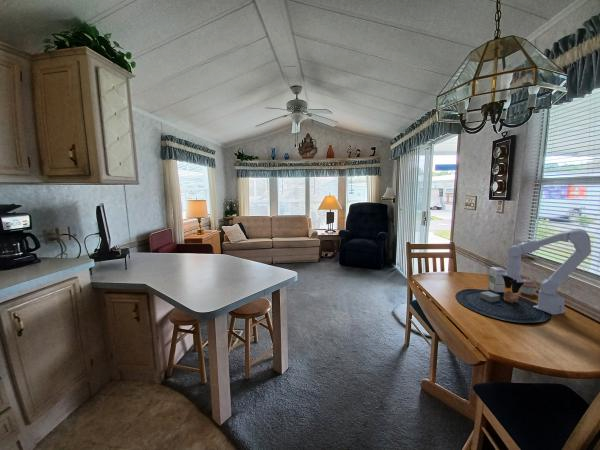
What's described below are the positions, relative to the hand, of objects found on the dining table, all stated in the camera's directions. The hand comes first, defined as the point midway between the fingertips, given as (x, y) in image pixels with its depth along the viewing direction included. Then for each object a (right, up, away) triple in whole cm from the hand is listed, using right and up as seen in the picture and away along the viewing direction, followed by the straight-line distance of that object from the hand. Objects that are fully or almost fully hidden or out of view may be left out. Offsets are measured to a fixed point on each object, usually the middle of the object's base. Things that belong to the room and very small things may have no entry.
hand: (511, 290), depth 144 cm
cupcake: (+18, -5, +10) cm, 22 cm away
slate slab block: (-10, -6, +3) cm, 12 cm away
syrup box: (+3, -4, +16) cm, 17 cm away
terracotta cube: (0, -6, +1) cm, 6 cm away
